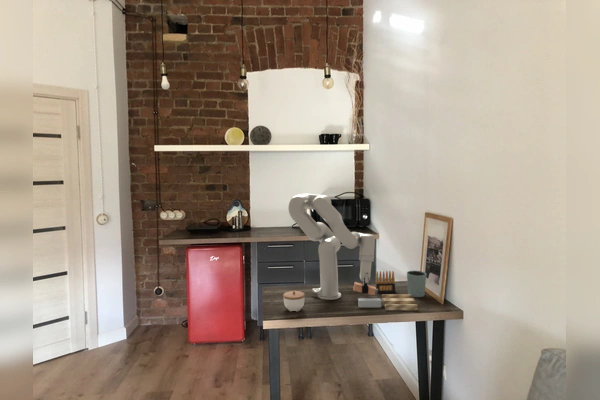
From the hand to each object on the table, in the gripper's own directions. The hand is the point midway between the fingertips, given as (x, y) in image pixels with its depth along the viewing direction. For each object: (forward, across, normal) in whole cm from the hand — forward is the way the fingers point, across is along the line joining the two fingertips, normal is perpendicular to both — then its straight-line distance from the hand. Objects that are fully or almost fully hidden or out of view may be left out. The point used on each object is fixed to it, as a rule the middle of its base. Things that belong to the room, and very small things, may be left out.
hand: (364, 291), depth 198 cm
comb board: (+3, +8, +17) cm, 19 cm away
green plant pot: (+2, -8, +29) cm, 30 cm away
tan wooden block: (0, 0, 0) cm, 1 cm away
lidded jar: (+7, +16, -35) cm, 39 cm away
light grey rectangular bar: (+4, +10, +2) cm, 11 cm away
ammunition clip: (+4, -12, +13) cm, 18 cm away
